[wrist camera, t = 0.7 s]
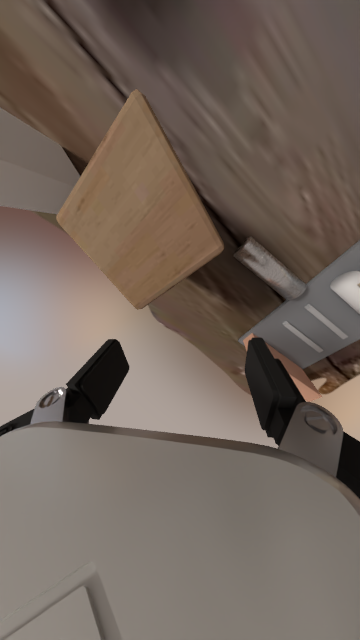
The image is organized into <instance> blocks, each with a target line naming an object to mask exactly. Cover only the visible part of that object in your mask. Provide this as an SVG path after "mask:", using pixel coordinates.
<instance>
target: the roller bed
mask: <svg viewBox="0 0 360 640" xmlns="http://www.w3.org/2000/svg"><path fill="white" fill-rule="evenodd" d="M359 283H360V240H359V241H358V242H357V243H356V244H355V245H353V246H352V247H351V248H350V249H348V250H347V251H346V252H345V253H344V254H342V255H341V256H340V257H339V258H337V259H336V260H335V261H334V262H333V263H331V264H330V265H329V266H328V267H326V268H325V269H324V270H323V271H322V272H320V273H319V274H318V275H317V276H315V277H314V278H313V279H312V280H310V281H309V282H308V283H307V284H306V289H305V291H304V292H303V293H302V294H301V295H300V296H299V297H297V298H295V299H292V300H286V301H285V302H284V303H282V304H281V305H280V306H279V307H277V308H276V309H275V310H274V311H273V312H271V313H270V314H269V315H268V316H266V317H265V318H264V319H263V320H262V321H260V322H259V323H258V324H257V325H255V326H254V327H253V328H252V329H250V330H249V331H248V332H247V333H246V334H244V335H243V336H242V337H241V338H239V339H238V342H240V343H241V344H243V345H244V346H245V347H246V350H247V348H248V341H249V340H251V339H252V338H257V337H262V338H263V339H264V341H265V343H266V345H267V346H268V348H269V350H270V352H271V353H272V355H273V357H274V358H278V359H280V361H281V362H282V364H283V365H284V367H285V368H286V370H287V372H288V373H289V375H290V376H291V378H292V380H293V381H294V383H295V385H296V386H297V388H298V389H299V391H300V393H301V394H302V396H303V398H304V399H305V400H307V401H308V402H310V401H313V400H315V399H317V398H320V397H322V396H321V394H320V393H319V392H318V390H317V389H316V388H315V386H314V385H313V383H312V382H311V381H310V379H309V378H308V377H307V375H306V374H305V372H304V371H303V370H302V369H304V368H306V367H308V366H310V365H312V364H314V363H315V362H317V361H319V360H321V359H323V358H325V357H327V356H329V355H331V354H332V353H334V352H336V351H338V350H340V349H342V348H344V347H346V346H348V345H350V344H351V343H353V342H355V341H357V340H359V339H360V287H359V286H358V285H357V284H359Z"/></svg>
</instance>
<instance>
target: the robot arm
mask: <svg viewBox="0 0 360 640" xmlns="http://www.w3.org/2000/svg"><path fill="white" fill-rule="evenodd" d="M128 370H129V365H128V362H127V360H126V357H125V355H124V352H123V350H122V347H121V345H120V342H118V341H117V340H116V339H109V340H107V341H106V342H105V343H104V344H103V345H102V346H101V348H100V349H99V350H98V351H97V352H96V353H95V354H94V355H93V356H92V357H91V358H90V359H89V360H88V362H86V364H85V365H84V366H83V367H82V368H81V369H80V370H79V371H78V372H77V373H76V374H75V375H74V376H73V377H72V378H71V379H70V381H69V382H68V383H67V384H66V385H67V386H68V388H67V389H65V388H63V387H59V388H55V389H53V390H51V391H49V392H48V393H46V394H45V395H44V396H43V397H42V398H40V400H39V401H38V402H37V404H36V406H35V409H33V410H31V411H29V412H27V413H25V414H23V415H21V416H19V417H17V418H16V419H14V420H12V421H10V422H8V423H6V424H4V425H2V426H1V427H0V640H360V442H359V441H358V440H356V439H355V438H353V437H351V436H349V435H348V434H347V433H345V432H343V428H342V426H341V424H340V422H339V421H338V419H337V418H336V417H335V416H334V415H333V414H332V413H331V412H329V411H328V410H327V409H325V408H323V407H322V406H320V405H317V404H315V403H311V402H306V401H305V399H304V398H303V396H302V394H301V393H300V391H299V389H298V388H297V386H296V385H295V383H294V381H293V380H292V378H291V376H290V375H289V373H288V372H287V370H286V368H285V367H284V365H283V364H282V362H281V361H280V359H278V358H274V357H273V355H272V353H271V352H270V350H269V348H268V346H267V345H266V343H265V341H264V339H263V338H262V337H257V338H252V339H251V340H249V341H248V348H247V356H246V364H245V375H246V378H247V381H248V385H249V388H250V391H251V395H252V398H253V401H254V405H255V408H256V411H257V415H258V418H259V421H260V425H261V428H262V429H263V430H266V433H267V436H268V437H272V438H274V440H275V443H276V444H277V445H278V446H279V447H278V449H276V448H273V447H269V446H264V445H258V444H253V443H248V442H240V441H233V440H226V439H218V438H210V437H201V436H193V435H184V434H176V433H167V432H158V431H149V430H140V429H131V428H122V427H112V426H104V425H93V424H89V419H90V418H92V419H98V420H99V419H100V417H101V416H102V414H104V413H105V411H106V410H107V408H108V406H109V404H110V403H111V401H112V399H113V397H114V396H115V394H116V392H117V390H118V389H119V387H120V385H121V383H122V382H123V380H124V378H125V376H126V374H127V373H128Z"/></svg>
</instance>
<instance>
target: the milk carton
mask: <svg viewBox="0 0 360 640" xmlns="http://www.w3.org/2000/svg"><path fill="white" fill-rule="evenodd" d="M79 178H80V175H79V173H78V172H77V170H76V169H75V167H74V166H73V164H72V162H71V161H70V159H69V158H68V156H67V155H66V153H65V151H64V150H63V148H62V147H61V146H60V145H59V144H58V143H56V142H54V141H53V140H51V139H50V138H48V137H46V136H45V135H43V134H42V133H40V132H38V131H37V130H35V129H34V128H32V127H30V126H29V125H27V124H26V123H24V122H22V121H21V120H19V119H18V118H16V117H14V116H13V115H11V114H10V113H8V112H6V111H5V110H3V109H2V108H0V206H5V207H12V208H19V209H26V210H33V211H39V212H46V213H53V214H58V213H59V211H60V209H61V208H62V206H63V204H64V203H65V201H66V199H67V198H68V196H69V195H70V193H71V191H72V190H73V188H74V186H75V185H76V183H77V181H78V180H79Z"/></svg>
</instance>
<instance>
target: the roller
mask: <svg viewBox="0 0 360 640" xmlns="http://www.w3.org/2000/svg"><path fill="white" fill-rule="evenodd" d="M234 257H235V258H236V259H237V260H239V261H240V262H241V263H242V264H243V265H245V266H246V267H247V268H248V269H250V270H251V271H252V272H253V273H254V274H256V275H257V276H258V277H259V278H261V279H262V280H263V281H264V282H265V283H267V284H268V285H269V286H270V287H272V288H273V289H274V290H275V291H276V292H278V293H279V294H280V295H281V296H283V297H284V298H285V299H286V300H292V299H295V298H297V297H299V296H300V295H301V294H302V293H303V292H304V291H305V289H306V284H305V283H304V282H303V281H302V280H300V279H299V278H298V277H297V276H296V275H295V274H294V273H292V272H291V271H290V270H289V269H288V268H287V267H286V266H284V265H283V264H282V263H281V262H280V261H279V260H278V259H276V258H275V257H274V256H273V255H272V254H271V253H270V252H268V251H267V250H266V249H265V248H264V247H263V246H262V245H260V244H259V243H258V242H257V241H256V240H255V239H254V238H252V237H251V236H250V237H248V238H247V239H246V240H245V241H244V242H243V243H242V244H241V245H240V247H239V248H238V249H237V250H236V252H235V254H234Z"/></svg>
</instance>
